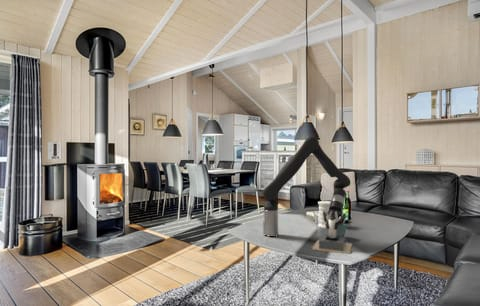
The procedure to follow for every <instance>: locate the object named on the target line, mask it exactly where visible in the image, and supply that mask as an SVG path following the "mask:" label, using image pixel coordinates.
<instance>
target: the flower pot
mask: <svg viewBox="0 0 480 306" xmlns="http://www.w3.org/2000/svg"><path fill="white" fill-rule="evenodd" d="M346 228H347V223H346V224H345V223H342V224H339V225H338V228H337V229H336V236H340V237H345V234H346V231H347V229H346ZM327 233H328V234H329V228H328V229H327Z"/></svg>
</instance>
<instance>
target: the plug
mask: <svg viewBox="0 0 480 306" xmlns="http://www.w3.org/2000/svg"><path fill="white" fill-rule="evenodd" d="M328 221H329V233H328V235H329V238H336V230H335V229H334V226H335V222H336V219H334V217H333V211H331V217H330V219H329V220H328Z"/></svg>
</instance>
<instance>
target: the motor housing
mask: <svg viewBox="0 0 480 306" xmlns="http://www.w3.org/2000/svg"><path fill="white" fill-rule="evenodd" d="M352 247H353V243H347V242H346V236H344V237H340V236H336V238H329V234H322V235H321V237H320V238H319V239H317V240H316V242H315V243H314V245H313V246H312V247H311V249H312V250H313V251H320V252H321V251H323V252H329V253H340V254H347V255H348V254H349V255H351V251H352Z"/></svg>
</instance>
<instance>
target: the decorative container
mask: <svg viewBox="0 0 480 306" xmlns="http://www.w3.org/2000/svg"><path fill="white" fill-rule="evenodd" d="M330 203H331V200H330V201H327V200H322V201H320V200H319V201H317V204H318V222H319V223H317V227H318V226H319V227H318V228H320V227H321V228H320V229H327V228H326V222H325V221H324V217H323V212H328V210H329V207H330ZM328 216H329V215H328V214H327V216H326V218H328Z"/></svg>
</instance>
